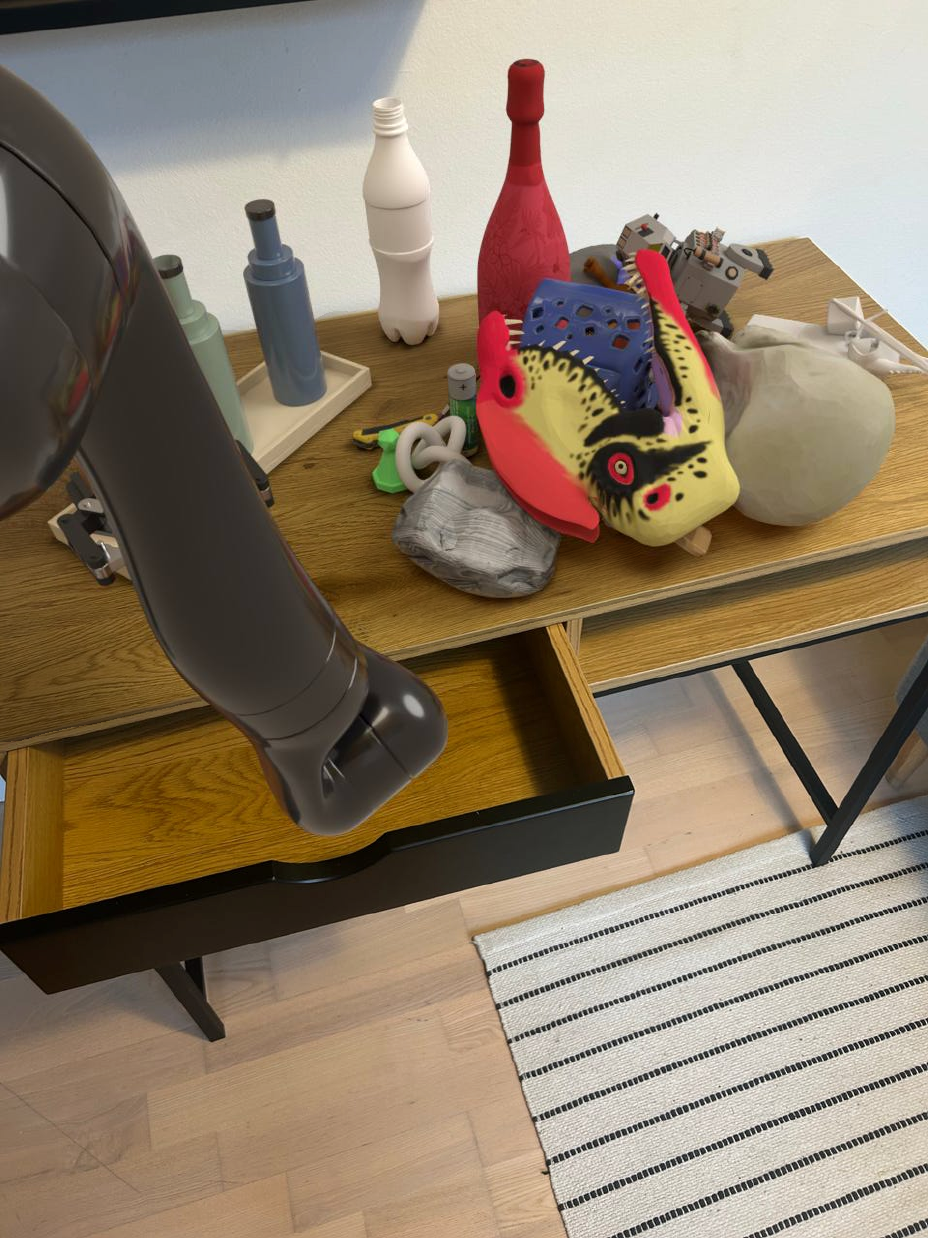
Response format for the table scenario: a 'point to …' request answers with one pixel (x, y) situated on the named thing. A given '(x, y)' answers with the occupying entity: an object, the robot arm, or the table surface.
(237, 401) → the grey-green bottle
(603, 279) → the toy figurine
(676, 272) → the figurine
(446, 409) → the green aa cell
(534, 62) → the wine bottle
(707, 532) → the sandal
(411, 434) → the knot
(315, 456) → the table surface
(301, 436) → the tray
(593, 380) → the toy
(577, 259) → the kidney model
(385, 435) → the game piece
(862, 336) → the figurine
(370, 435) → the utility knife
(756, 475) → the skull
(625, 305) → the flower pot
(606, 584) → the table surface
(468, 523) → the decorative stone
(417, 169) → the water bottle
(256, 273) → the slate-blue bottle
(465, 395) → the battery
